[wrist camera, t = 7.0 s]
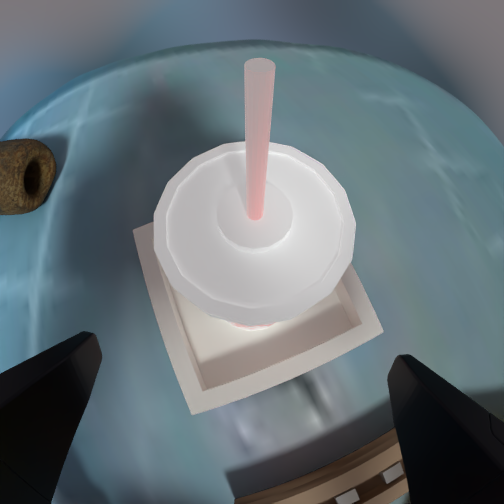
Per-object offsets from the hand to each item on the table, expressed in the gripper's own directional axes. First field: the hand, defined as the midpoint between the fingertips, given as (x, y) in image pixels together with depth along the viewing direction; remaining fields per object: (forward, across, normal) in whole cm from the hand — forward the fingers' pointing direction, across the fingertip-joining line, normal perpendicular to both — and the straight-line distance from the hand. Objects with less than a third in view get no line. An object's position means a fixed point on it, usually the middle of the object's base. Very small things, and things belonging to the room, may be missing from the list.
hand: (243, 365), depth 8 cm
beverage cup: (+9, 0, +3) cm, 9 cm away
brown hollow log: (+14, +24, -2) cm, 28 cm away
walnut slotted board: (+1, -6, +12) cm, 14 cm away
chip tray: (+9, 0, +3) cm, 10 cm away
